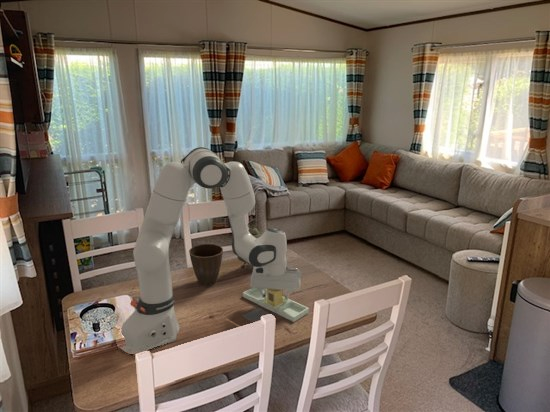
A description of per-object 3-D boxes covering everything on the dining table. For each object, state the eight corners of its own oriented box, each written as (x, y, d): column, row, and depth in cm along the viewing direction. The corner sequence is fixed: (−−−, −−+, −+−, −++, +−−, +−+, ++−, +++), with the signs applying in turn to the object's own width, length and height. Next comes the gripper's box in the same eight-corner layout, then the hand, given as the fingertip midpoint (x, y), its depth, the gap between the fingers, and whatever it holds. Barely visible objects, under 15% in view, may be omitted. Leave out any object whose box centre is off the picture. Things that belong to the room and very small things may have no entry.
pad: (257, 326, 152) (257, 325, 152) (241, 317, 158) (241, 316, 157) (273, 316, 158) (273, 315, 158) (257, 308, 164) (257, 307, 164)
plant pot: (230, 282, 186) (229, 250, 181) (204, 293, 175) (202, 259, 171) (210, 272, 195) (209, 241, 191) (184, 282, 185) (182, 250, 180)
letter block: (274, 308, 163) (274, 292, 161) (266, 304, 166) (266, 289, 164) (282, 304, 166) (282, 288, 164) (274, 300, 169) (274, 285, 167)
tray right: (294, 323, 154) (294, 317, 153) (276, 314, 160) (276, 308, 159) (308, 313, 161) (308, 308, 160) (291, 305, 167) (291, 299, 166)
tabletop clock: (258, 260, 209) (257, 214, 202) (270, 265, 203) (270, 218, 196) (237, 268, 199) (236, 220, 192) (249, 274, 193) (249, 225, 186)
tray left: (258, 305, 166) (258, 300, 166) (242, 297, 172) (242, 292, 171) (273, 297, 173) (273, 291, 172) (258, 290, 179) (258, 284, 178)
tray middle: (275, 313, 160) (275, 308, 159) (258, 305, 166) (258, 300, 165) (290, 305, 167) (290, 299, 166) (273, 297, 173) (274, 292, 172)
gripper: (301, 264, 163) (301, 295, 167) (251, 262, 166) (252, 292, 170) (300, 271, 157) (300, 303, 161) (249, 268, 160) (249, 300, 164)
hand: (275, 297), depth 165 cm, fingers open, 8 cm apart
